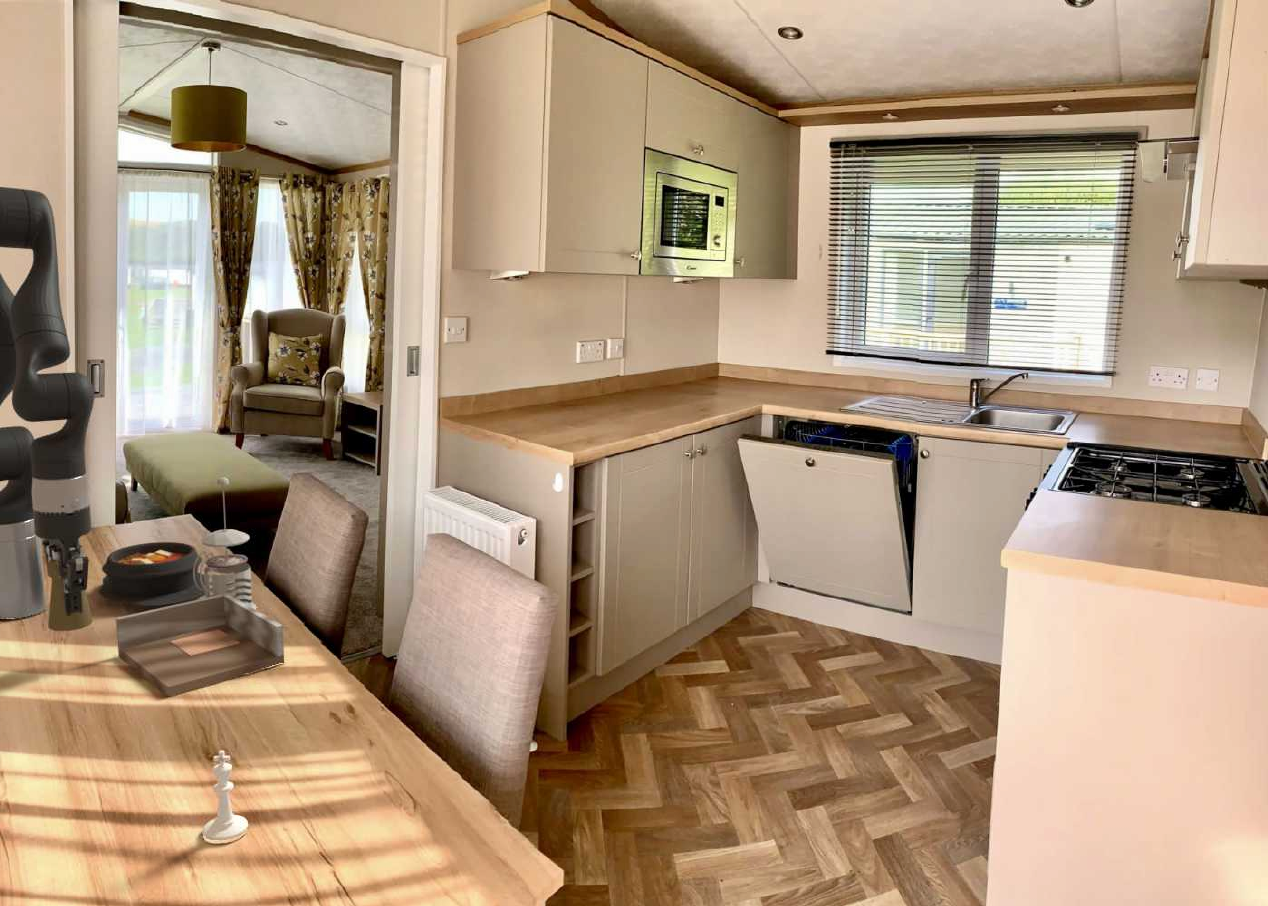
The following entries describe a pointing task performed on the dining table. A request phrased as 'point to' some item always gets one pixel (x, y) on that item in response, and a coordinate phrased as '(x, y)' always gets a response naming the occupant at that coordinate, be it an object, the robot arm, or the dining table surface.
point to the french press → (226, 564)
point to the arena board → (199, 643)
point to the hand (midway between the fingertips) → (69, 609)
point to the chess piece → (224, 805)
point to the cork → (57, 605)
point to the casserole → (152, 575)
